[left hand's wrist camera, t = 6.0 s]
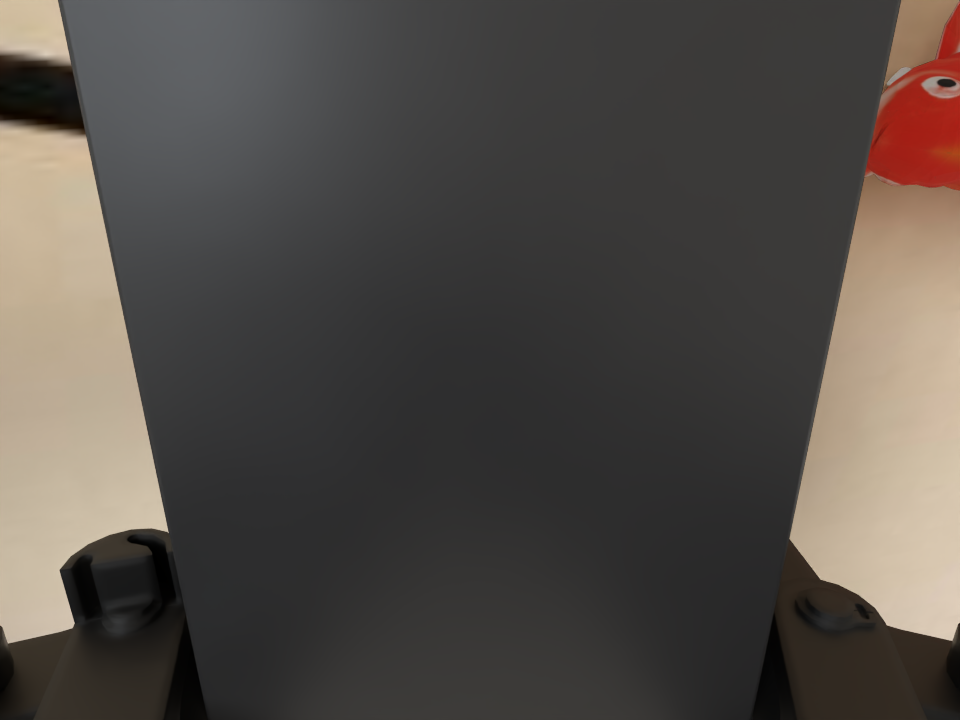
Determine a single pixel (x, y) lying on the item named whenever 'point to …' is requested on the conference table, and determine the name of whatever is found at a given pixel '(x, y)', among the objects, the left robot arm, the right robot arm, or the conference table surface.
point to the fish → (921, 120)
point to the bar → (479, 334)
